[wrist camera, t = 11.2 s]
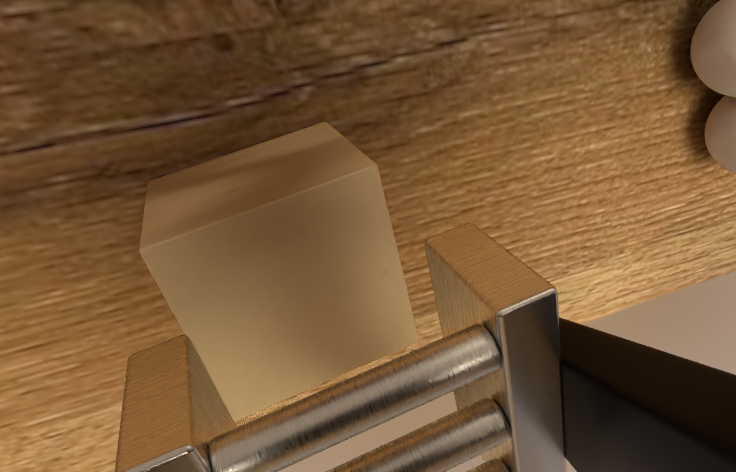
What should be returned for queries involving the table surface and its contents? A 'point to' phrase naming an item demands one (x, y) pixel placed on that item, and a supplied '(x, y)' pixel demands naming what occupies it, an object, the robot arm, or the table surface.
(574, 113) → the table surface
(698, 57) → the rainbow wheeled toy
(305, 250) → the tan wooden cube
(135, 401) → the wire rack
